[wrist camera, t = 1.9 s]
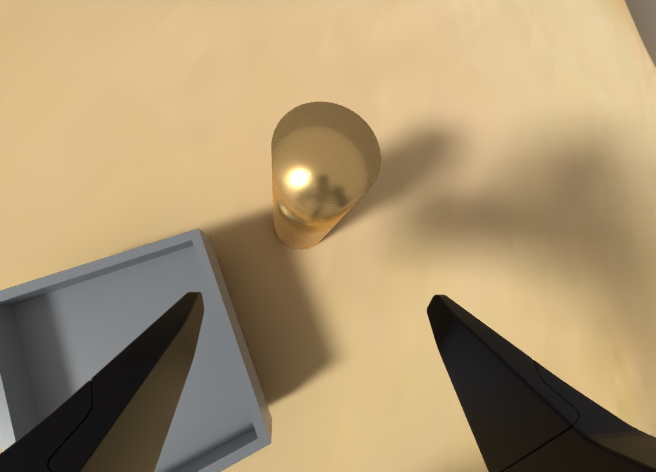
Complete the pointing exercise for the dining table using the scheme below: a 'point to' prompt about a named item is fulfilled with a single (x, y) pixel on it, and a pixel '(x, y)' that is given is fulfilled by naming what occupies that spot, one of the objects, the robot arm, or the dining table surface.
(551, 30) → the dining table surface
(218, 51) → the dining table surface
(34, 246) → the dining table surface
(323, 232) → the gold cylinder
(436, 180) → the dining table surface
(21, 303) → the gray rectangular tray
